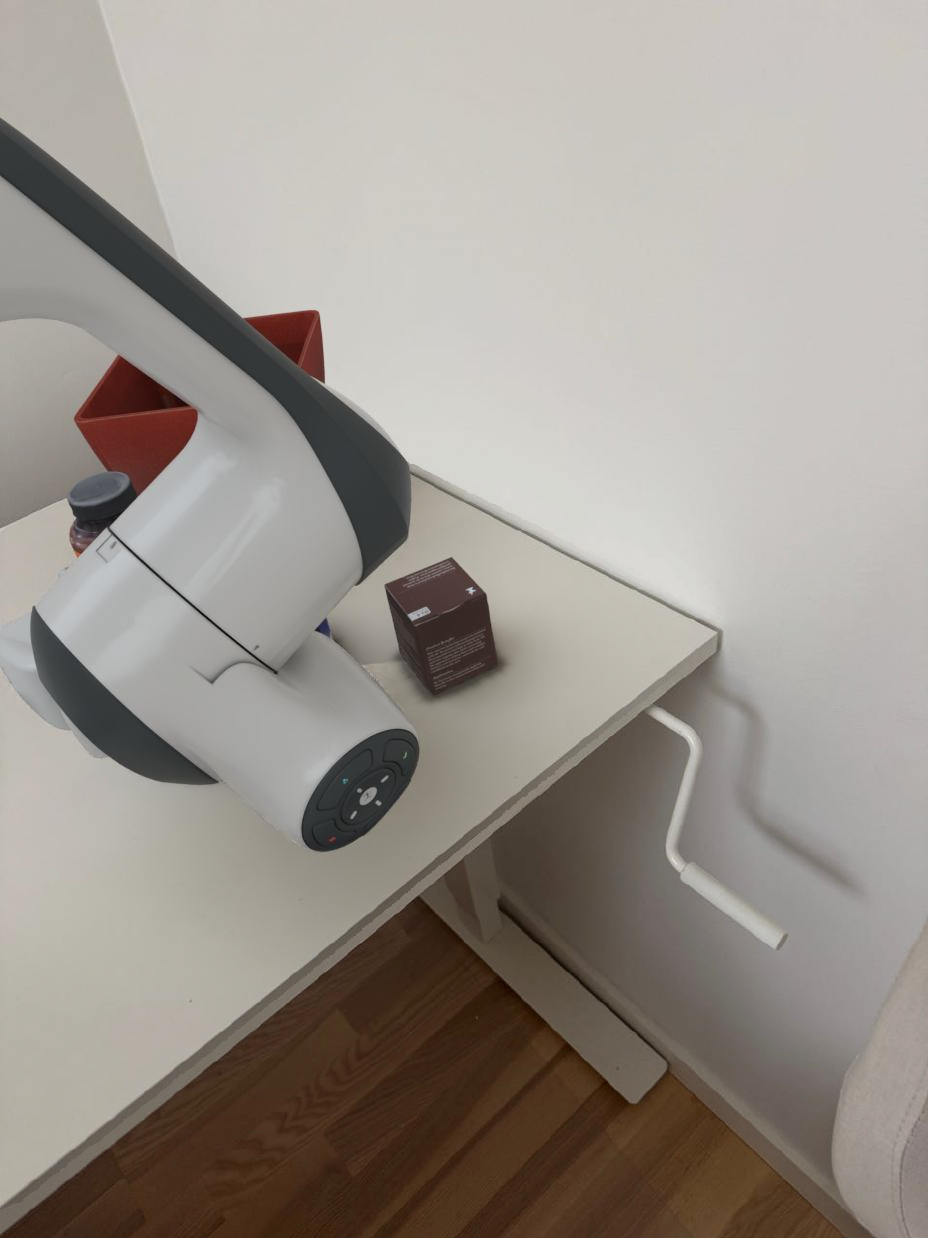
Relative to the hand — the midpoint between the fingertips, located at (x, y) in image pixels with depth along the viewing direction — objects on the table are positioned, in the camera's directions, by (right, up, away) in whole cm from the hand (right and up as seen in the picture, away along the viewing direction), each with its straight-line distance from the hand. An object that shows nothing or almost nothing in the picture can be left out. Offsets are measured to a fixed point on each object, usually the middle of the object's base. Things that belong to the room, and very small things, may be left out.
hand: (122, 551), depth 63 cm
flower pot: (+1, +6, +34) cm, 35 cm away
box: (+21, -8, +12) cm, 26 cm away
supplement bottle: (+1, -5, +3) cm, 6 cm away
